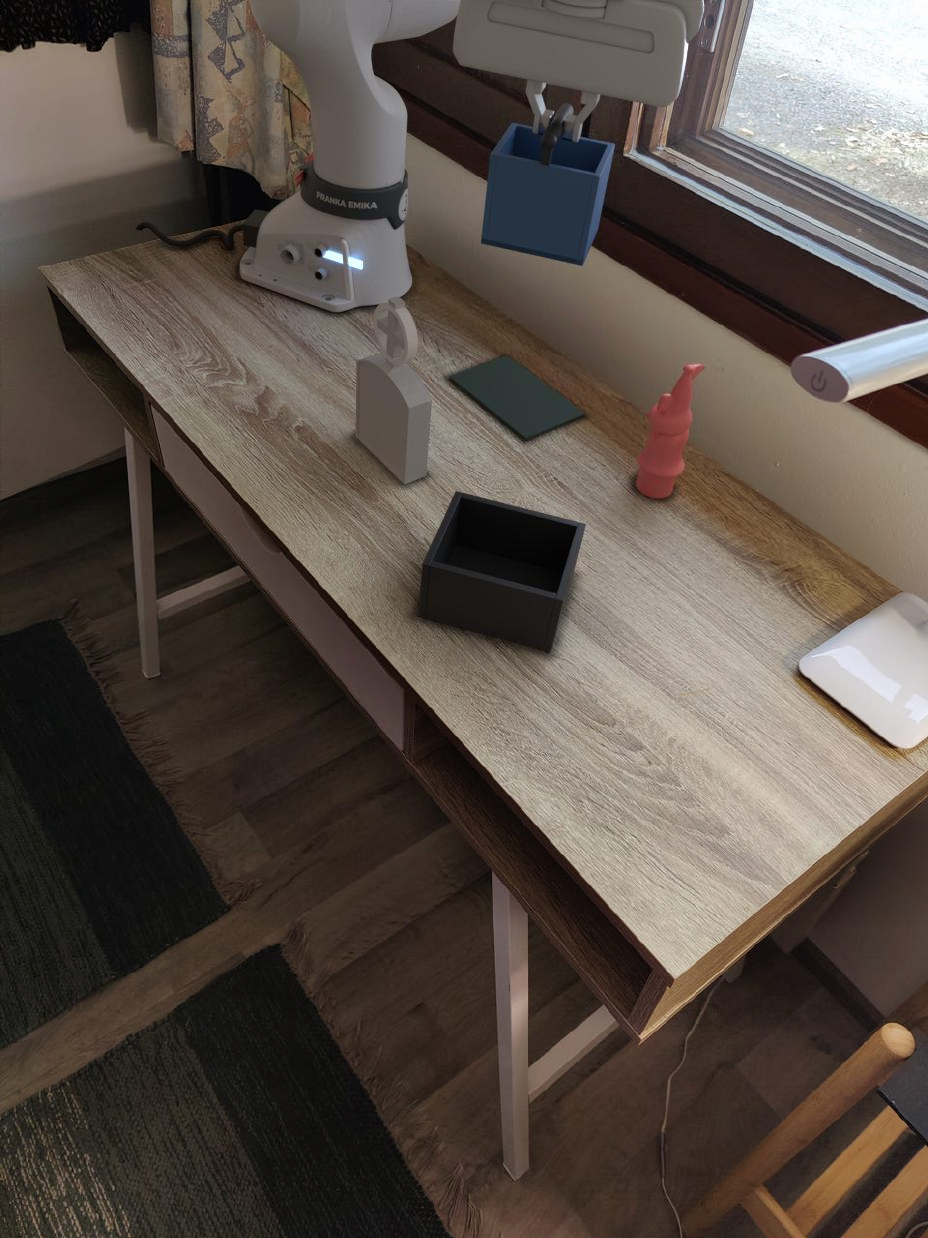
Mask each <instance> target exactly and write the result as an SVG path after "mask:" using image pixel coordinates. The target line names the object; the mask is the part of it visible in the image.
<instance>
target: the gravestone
mask: <svg viewBox="0 0 928 1238" xmlns="http://www.w3.org/2000/svg"><path fill="white" fill-rule="evenodd" d="M373 330H374V334H375V339H376V342H377V344H378V347H379V350H380V351H381V352H379V353H376V354H373V355H370V356H366V357H363V358H360V359H357V360H355V370H356V371H355V437H356V438H357V440H359V441H360V443H362V444H363V446H365V447H366V448H367V449H368V450H369V451H370V452H371V453H372V455H374V456H375V457H376V458H377V459H378V460H379V461H380V462H381V463H382V464H383V465H384V466H385V467H386V468H387V469H388V470H389V471H390V472H391V473H392V474H393V475H394V476H395V477H396V478H397V479H398V480H399V481H400V482H401V483H403V485H407V484H410V483H413V482H415V481H417V480H419V479H422V478H425V477H427V473H428V472H427V470H428V458H429V444H430V432H431V422H432V421H431V419H432V407H433V399H432V397H431V394H430V393H429V390H428V389H427V387H426V385H425V383H424V382H423V380H422V378H420V376H419V375H418V374H417V373H416V371H415V370H414V369H413V368H412V367H411V366H410V365H409V364H408V363H410V362H413V361H414V360H415V358H416V357H417V354H418V350H419V336H418V331H417V327H416V323H415V321H414V318H413V317H412V315H411V313H410V311H409V310H408V308H407V307H406V301H405V300H403V299H402V298H401V297H399V296H397V297H394V298H390V299H388V302H384V303H381V304H377V306H376V308H375V310H374V314H373Z"/></svg>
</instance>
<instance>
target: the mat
mask: <svg viewBox="0 0 928 1238" xmlns="http://www.w3.org/2000/svg"><path fill="white" fill-rule="evenodd" d="M448 380H450V381H451V382H452V383H454V384H455V385H456V386H457V387H458V388H459V389H461V390H462V391H463V392H464V393H466V394H467V395H468V396H469V397H471V398H472V399H473V400H475V402H477V403H478V404H479V405H481V406H482V407H483V408H484V409H485V410H487V411H488V412H489V413H491V414H492V415H493V416H494V417H496V419H498V420H499V421H500V422H502V423H503V424H504V425H505V426H507V427H508V428H509V429H510V430H511V431H512V432H514V433H515V434H516V435H518V436H519V437H520V438H521V439H522V440H523V441H525V442H526V441H529V440H532V439H533V438H536V437H539V436H541V435H543V434H546V433H548V432H551V431H553V430H555V429H557V428H560V427H562V426H565V425H567V424H569V423H572V422H574V421H577V420H579V419H582V418H584V417H585V414H586V413H585V412H584V411H582V410H581V409H580V408H579V407H577V406H576V405H575V404H573V403H572V402H570V401H569V400H568V399H566V398H565V397H564V396H563V395H561V394H560V393H558V392H557V391H556V390H554V389H553V388H552V387H551V386H549V385H548V384H546V383H545V382H544V381H542V380H541V379H540V378H538V377H537V376H536V375H535V374H533V373H532V372H530V371H529V370H528V369H527V368H525V367H524V366H523V365H521V364H520V363H518V361H516V360H514V359H513V357H512V358H511V356H509V355H508V354H506V355H504V356H501V357H498V358H495V359H493V360H490V361H487V362H484V363H481V364H479V365H476V366H473V367H471V368H467V369H465V370H462V371H459V372H457V373H454V374H452V375H449V376H448Z"/></svg>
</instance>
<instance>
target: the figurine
mask: <svg viewBox="0 0 928 1238" xmlns="http://www.w3.org/2000/svg"><path fill="white" fill-rule="evenodd" d="M705 369H706V366H705V365H703V364H702V363H694V364H690V363H688V364H685V365H683V368H682V370H683V373H682V374H681V375H680V376H679V378H678V379H677V381H676V382H675V384H674V386H673V388H672V389H671V391H670V392H667V393H663V394H662V395H661V396H660V397H659V400H658V402H656V403H655V404H654V405H653V406H652V407H651V408H650V409H649V412H648V414H647V422H648V425H649V426H650V428H651V431H650V432H649V435H648V437H647V438H646V442H645V445H644V448H643V449H642V450H641V451H640V452H639V454H638V456H637V463H638V465H639V470H638V473H637V477H636V480H635V486H636V489H637V490H638V491H639V492H640V493H641V494H643V495H644V496H647V497H649V498H652V499H664V498H667V497H669V496H671V494H672V492H673V489H674V486H675V484H676V480H677V477H678V476H680V475H681V474H682V473H684V471H685V467H686V465H685V461H684V459H683V452H684V450H685V447H686V445H687V443H688V440H689V437H690V428H691V426H692V422H693V413H692V410H691V409H690V408H691V404H692V400H693V394H694V388H693V387H694V386H693V381H694V380H695V379H696V378H697V376H699V374H700V373H702V371H704V370H705Z"/></svg>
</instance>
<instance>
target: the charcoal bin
mask: <svg viewBox="0 0 928 1238" xmlns="http://www.w3.org/2000/svg"><path fill="white" fill-rule="evenodd" d="M586 525H587V523H584V522H580V521H578V520H577V521H576V520H573V519H569V518H565V517H561V516H557V515H553V514H549V513H545V512H542V511H537V510H532V509H530V508H526V507H521V506H517V505H513V504H509V503H505V502H502V501H498V500H493V499H490V498H485V497H482V496H478V495H474V494H471V493H466V492H461V491H457V490H455V492H454V494H453V496H452V498H451V500H450V503H449V505H448V506H447V509H446V511H445V513H444V516H443V517H442V520H441V522H440V524H439V527H438V528H437V531H436V533H435V535H434V538H433V540H432V542H431V544H430V546H429V548H428V550H427V552H426V555H425V556H424V560H423V561H422V563H421V574H420V575H421V576H420V587H419V600H418V612H417V617H418V618H422V619H424V620H428V621H432V622H436V623H439V624H444V625H448V626H451V627H455V628H459V629H462V630H464V631H465V630H466V631H469V632H473V633H476V634H479V635H484V636H487V637H491V638H495V639H498V640H502V641H506V642H510V643H513V644H517V645H521V646H524V647H527V648H532V649H536V650H538V651H544V652H546V653H552V649H553V646H554V643H555V639H556V636H557V632H558V629H559V626H560V622H561V619H562V615H563V611H564V608H565V605H566V602H567V599H568V596H569V591H570V588H571V585H572V581H573V578H574V573H575V570H576V566H577V562H578V558H579V554H580V549H581V546H582V541H583V539H584V535H585V529H586Z"/></svg>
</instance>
